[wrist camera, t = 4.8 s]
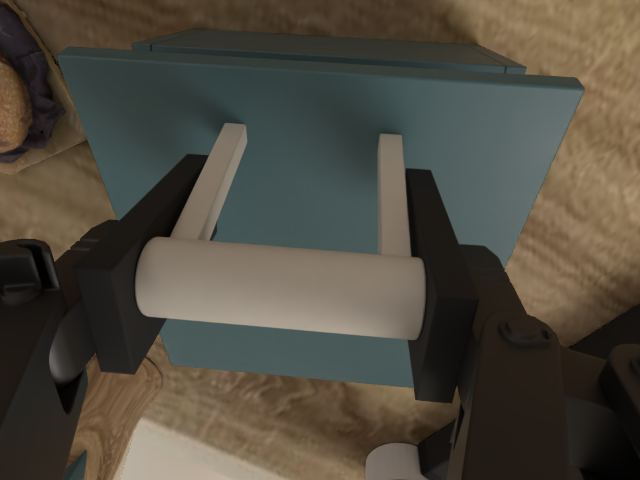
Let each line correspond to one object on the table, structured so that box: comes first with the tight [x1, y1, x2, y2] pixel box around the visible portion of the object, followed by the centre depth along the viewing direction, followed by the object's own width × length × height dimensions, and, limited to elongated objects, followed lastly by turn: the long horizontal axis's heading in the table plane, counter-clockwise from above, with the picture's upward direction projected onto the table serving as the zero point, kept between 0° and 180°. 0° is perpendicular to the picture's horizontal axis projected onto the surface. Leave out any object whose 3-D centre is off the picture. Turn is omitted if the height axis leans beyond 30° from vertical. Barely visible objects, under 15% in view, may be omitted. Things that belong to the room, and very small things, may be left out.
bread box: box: [132, 29, 527, 75], centre depth 25 cm, size 17×16×8 cm
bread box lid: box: [57, 47, 584, 388], centre depth 17 cm, size 17×16×8 cm
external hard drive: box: [418, 304, 640, 480], centre depth 36 cm, size 14×23×3 cm, turn 140°
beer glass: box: [63, 356, 162, 480], centre depth 32 cm, size 7×7×15 cm
